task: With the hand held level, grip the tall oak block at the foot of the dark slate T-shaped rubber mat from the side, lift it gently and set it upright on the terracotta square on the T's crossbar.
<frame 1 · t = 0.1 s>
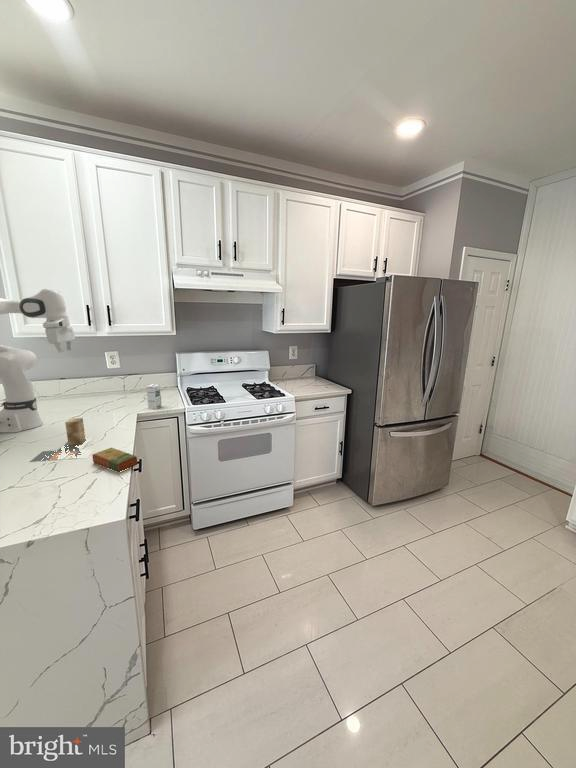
hand: (65, 351, 159), 39 cm above the counter, tool pointing down, fingers open, 8 cm apart
carton: (115, 465, 125), on the counter
oak block: (77, 443, 143), resting on t mat
syrup box: (154, 407, 198), on the counter
t mat: (70, 449, 136), on the counter
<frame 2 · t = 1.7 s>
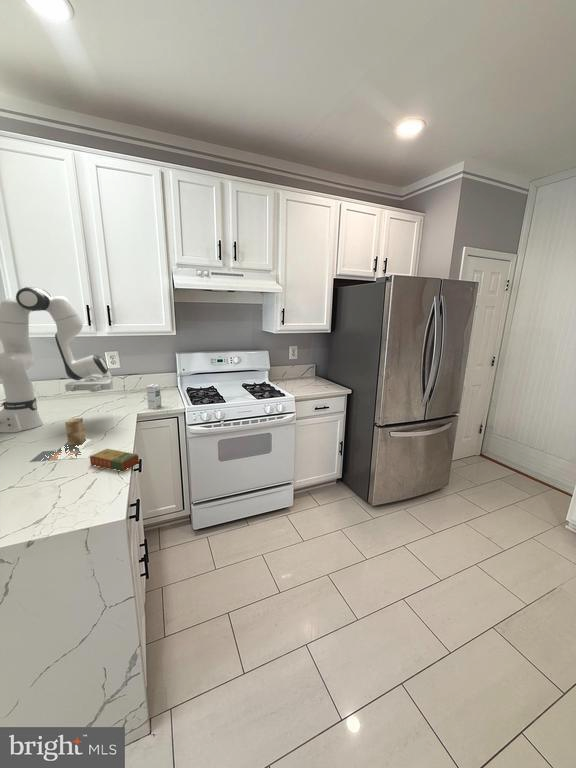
hand: (83, 389, 151), 22 cm above the counter, tool horizontal, fingers open, 8 cm apart
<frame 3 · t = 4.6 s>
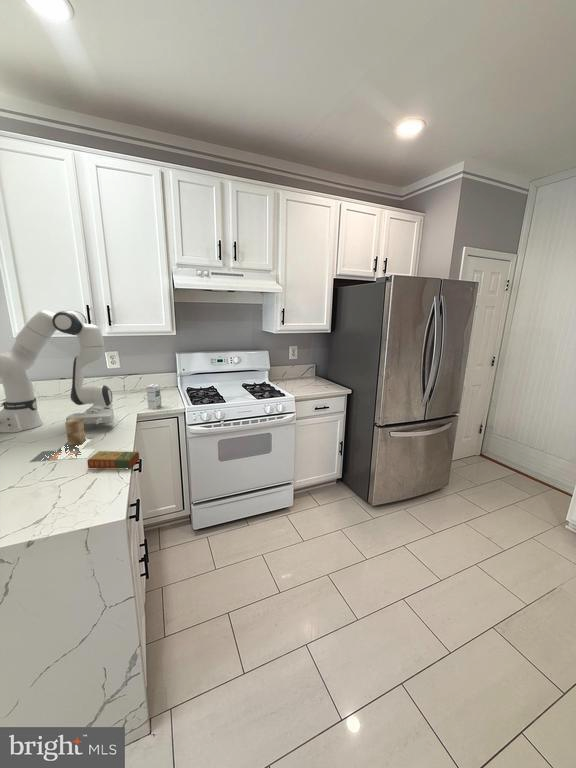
hand: (84, 423, 151), 6 cm above the counter, tool horizontal, fingers open, 8 cm apart
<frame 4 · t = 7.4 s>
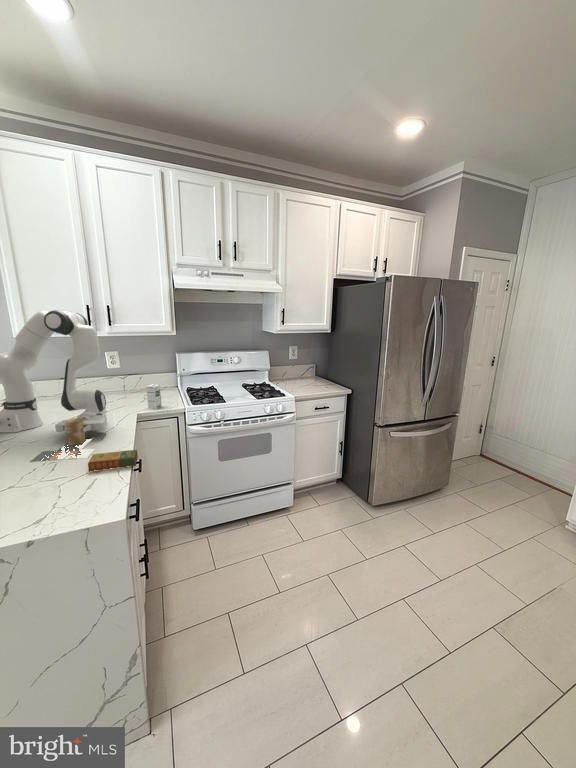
hand: (74, 431, 141), 6 cm above the counter, tool horizontal, fingers closed on oak block, 5 cm apart
oak block: (77, 443, 143), resting on t mat, touching gripper
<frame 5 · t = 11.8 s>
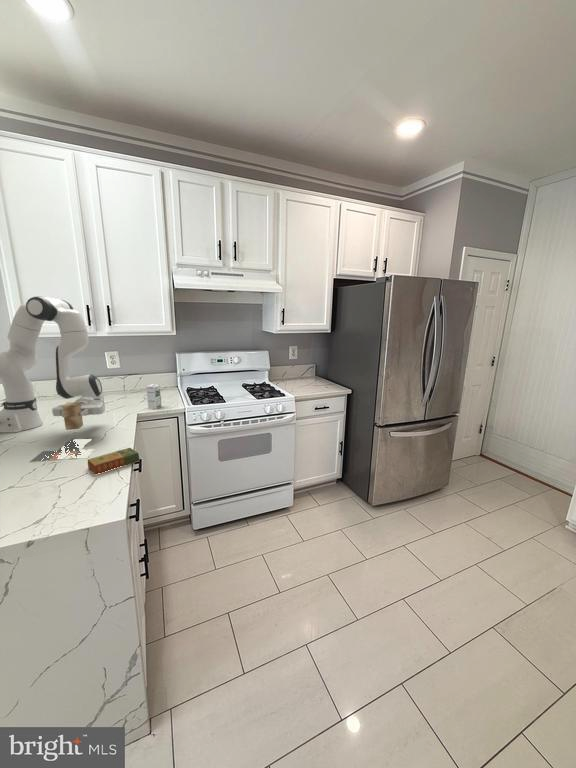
hand: (71, 415, 138), 14 cm above the counter, tool horizontal, fingers closed on oak block, 5 cm apart
oak block: (74, 427, 141), point 8 cm above the counter, touching gripper
when the fingers open (7 cm above the counter, at t = 16.2 s): oak block drops 1 cm, resting on t mat.
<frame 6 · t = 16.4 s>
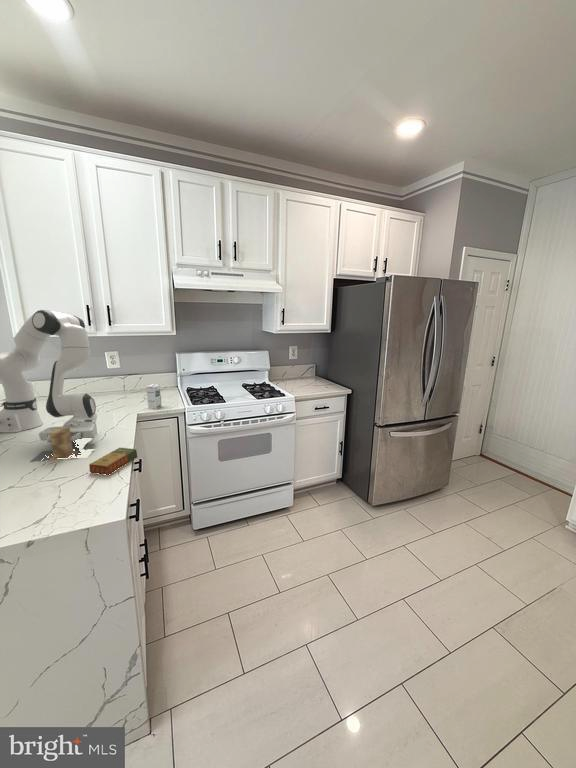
hand: (60, 440, 128), 7 cm above the counter, tool horizontal, fingers open, 7 cm apart
oak block: (63, 455, 131), resting on t mat
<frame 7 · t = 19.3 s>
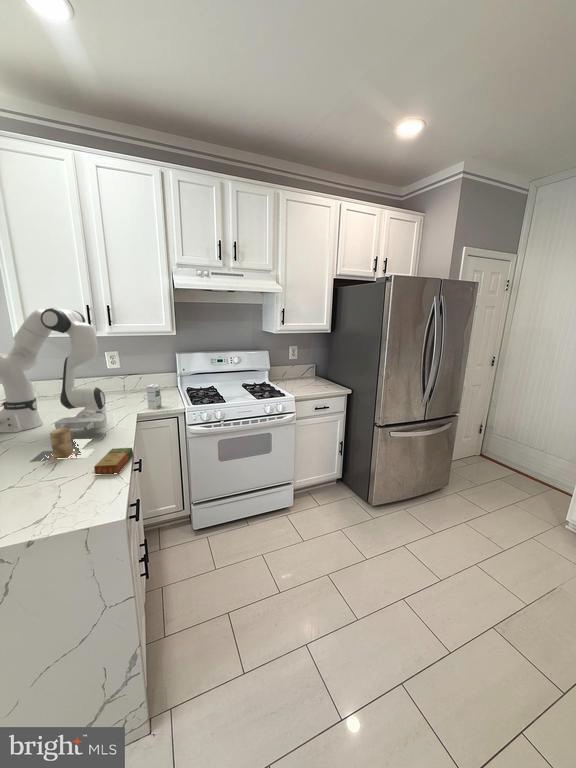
hand: (74, 428, 140), 7 cm above the counter, tool horizontal, fingers open, 8 cm apart
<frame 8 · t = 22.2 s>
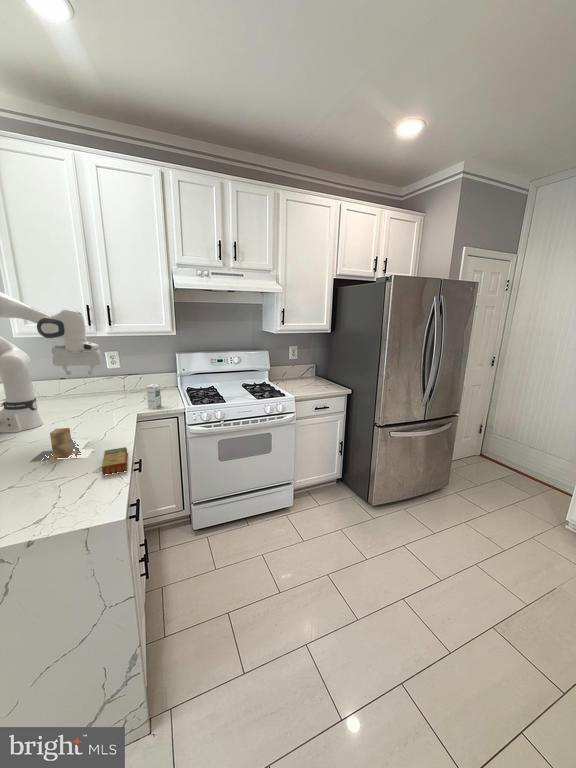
hand: (79, 374, 150), 29 cm above the counter, tool pointing down, fingers open, 8 cm apart
at the end: oak block inside the target area (0.1 cm from its centre), resting on t mat; oak block tilted 0°; the gripper is holding nothing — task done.
